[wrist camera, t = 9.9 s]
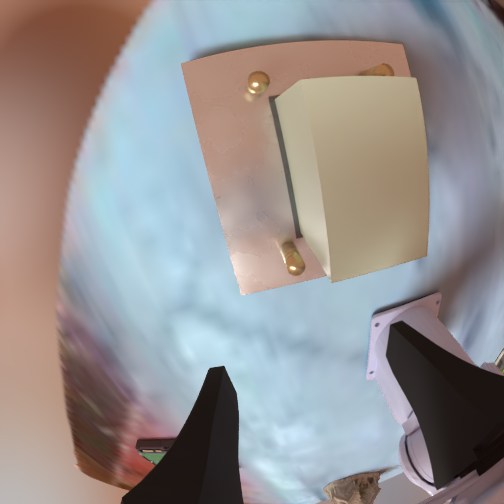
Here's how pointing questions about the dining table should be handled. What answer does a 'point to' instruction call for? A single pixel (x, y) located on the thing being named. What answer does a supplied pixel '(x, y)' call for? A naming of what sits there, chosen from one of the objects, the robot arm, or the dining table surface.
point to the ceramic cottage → (354, 489)
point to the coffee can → (500, 362)
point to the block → (358, 170)
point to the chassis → (267, 146)
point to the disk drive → (153, 449)
